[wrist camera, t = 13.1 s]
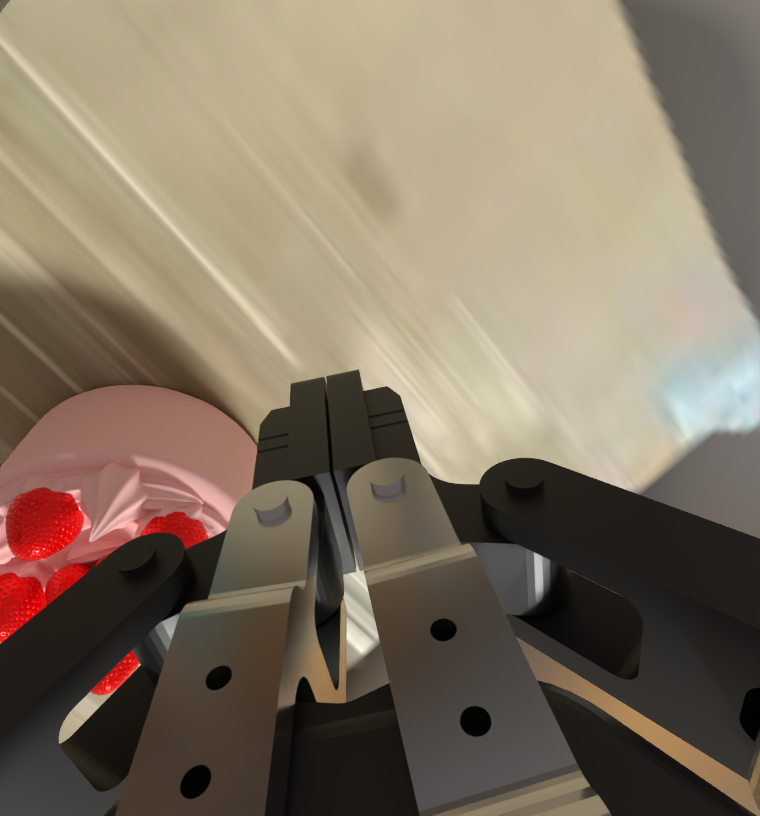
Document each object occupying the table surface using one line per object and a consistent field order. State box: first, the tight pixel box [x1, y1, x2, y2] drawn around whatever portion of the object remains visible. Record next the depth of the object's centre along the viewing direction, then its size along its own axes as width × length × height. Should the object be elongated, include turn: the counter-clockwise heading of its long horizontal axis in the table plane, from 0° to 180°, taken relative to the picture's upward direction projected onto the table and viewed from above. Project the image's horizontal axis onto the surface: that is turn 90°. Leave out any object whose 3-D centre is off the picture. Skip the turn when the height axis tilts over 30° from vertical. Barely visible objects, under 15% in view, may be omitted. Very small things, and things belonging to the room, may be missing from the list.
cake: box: [0, 385, 257, 695], centre depth 41 cm, size 20×20×14 cm
